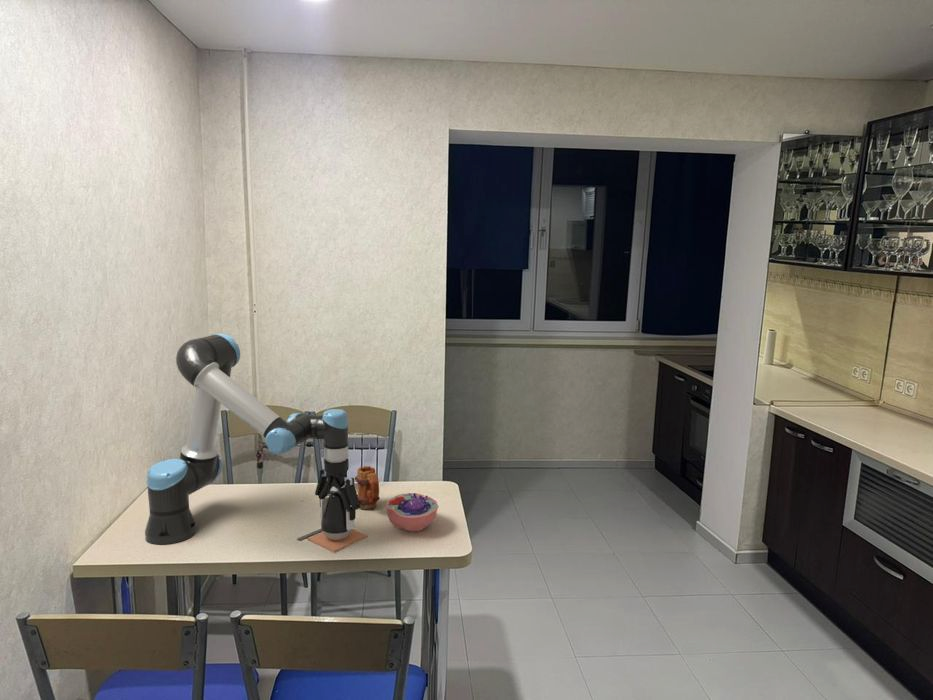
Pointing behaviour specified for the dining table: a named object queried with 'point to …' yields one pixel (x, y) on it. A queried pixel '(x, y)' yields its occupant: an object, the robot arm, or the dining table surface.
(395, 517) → the cell model
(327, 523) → the pump dispenser
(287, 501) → the dining table surface
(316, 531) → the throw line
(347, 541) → the mat
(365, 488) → the mug
